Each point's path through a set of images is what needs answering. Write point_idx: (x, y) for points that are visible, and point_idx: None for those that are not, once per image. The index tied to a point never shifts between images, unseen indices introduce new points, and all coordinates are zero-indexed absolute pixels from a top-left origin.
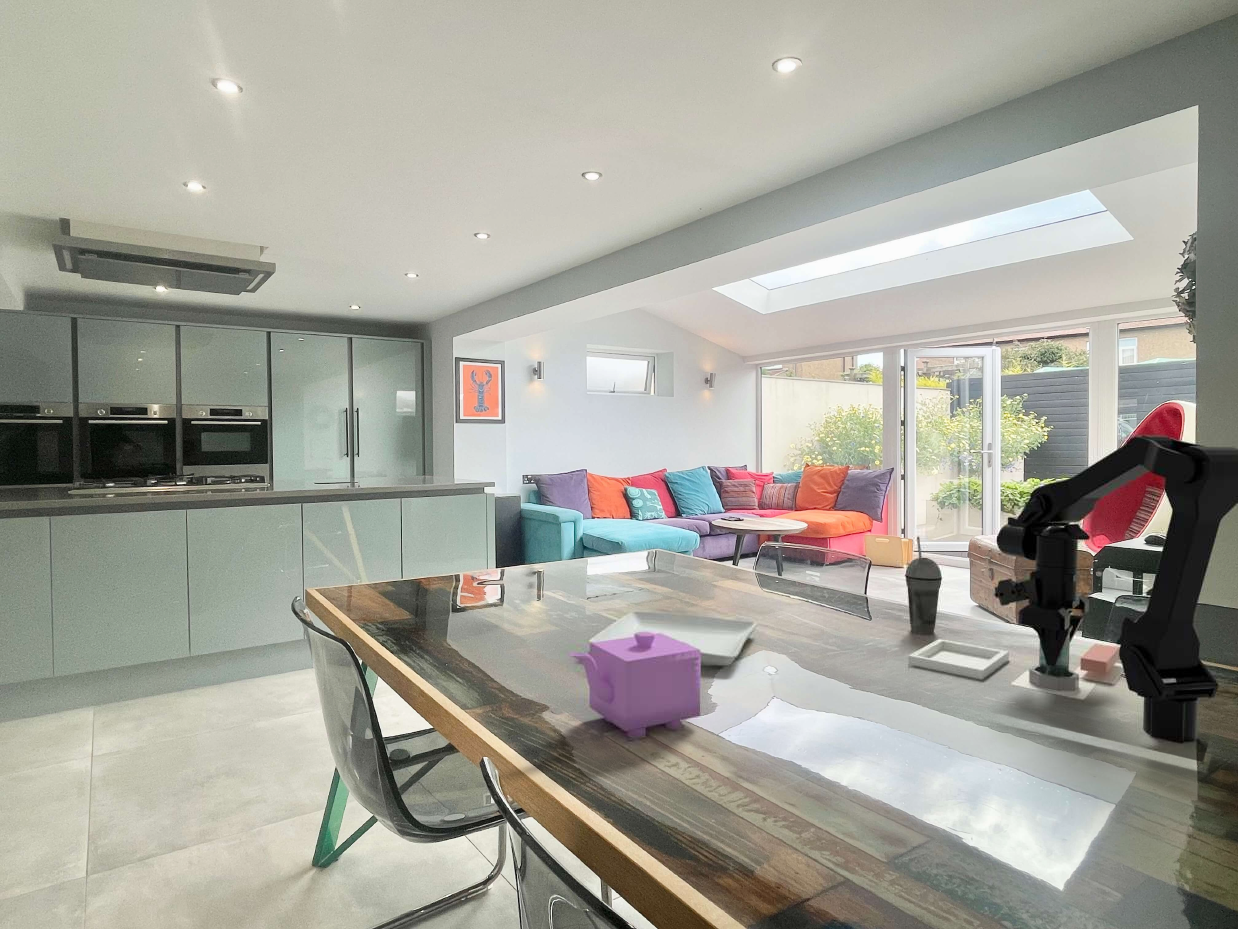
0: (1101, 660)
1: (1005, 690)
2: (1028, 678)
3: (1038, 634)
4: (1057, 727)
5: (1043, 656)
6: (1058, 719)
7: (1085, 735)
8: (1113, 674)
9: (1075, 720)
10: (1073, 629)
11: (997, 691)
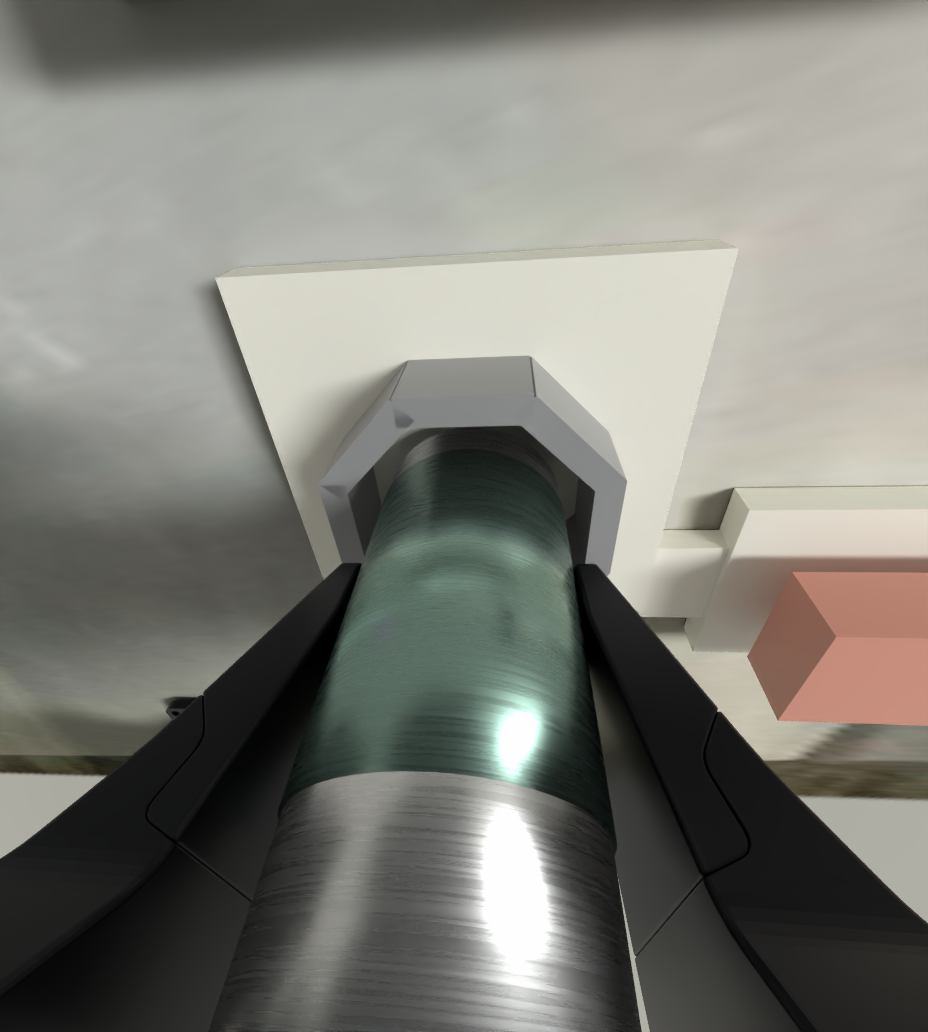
0: (815, 705)
1: (216, 235)
2: (484, 334)
3: (36, 837)
4: (14, 564)
5: (360, 578)
6: (94, 552)
7: (57, 623)
8: None
9: (153, 588)
10: (643, 977)
11: (134, 194)
